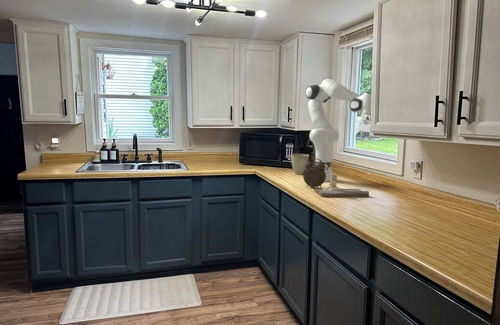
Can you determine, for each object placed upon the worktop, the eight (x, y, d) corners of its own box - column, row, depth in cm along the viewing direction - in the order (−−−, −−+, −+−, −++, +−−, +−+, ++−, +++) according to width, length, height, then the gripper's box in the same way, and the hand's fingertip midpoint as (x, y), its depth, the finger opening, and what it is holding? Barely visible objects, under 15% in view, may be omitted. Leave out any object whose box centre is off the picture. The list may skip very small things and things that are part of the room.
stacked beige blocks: (326, 190, 218) (328, 173, 217) (334, 190, 219) (335, 173, 218) (330, 192, 213) (331, 174, 211) (338, 192, 213) (339, 175, 212)
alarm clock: (326, 188, 234) (328, 159, 231) (321, 190, 228) (323, 159, 225) (306, 185, 243) (308, 156, 240) (301, 187, 237) (303, 157, 234)
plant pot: (286, 172, 295) (287, 153, 293) (303, 172, 299) (304, 153, 297) (294, 175, 281) (295, 155, 279) (311, 175, 285) (312, 155, 283)
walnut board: (314, 191, 223) (314, 186, 223) (358, 191, 228) (358, 186, 227) (321, 196, 209) (322, 191, 209) (368, 197, 214) (369, 191, 214)
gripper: (356, 117, 237) (354, 137, 238) (371, 117, 217) (369, 140, 218) (365, 117, 238) (363, 138, 239) (380, 118, 218) (378, 140, 219)
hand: (366, 139), depth 229 cm, fingers open, 8 cm apart
